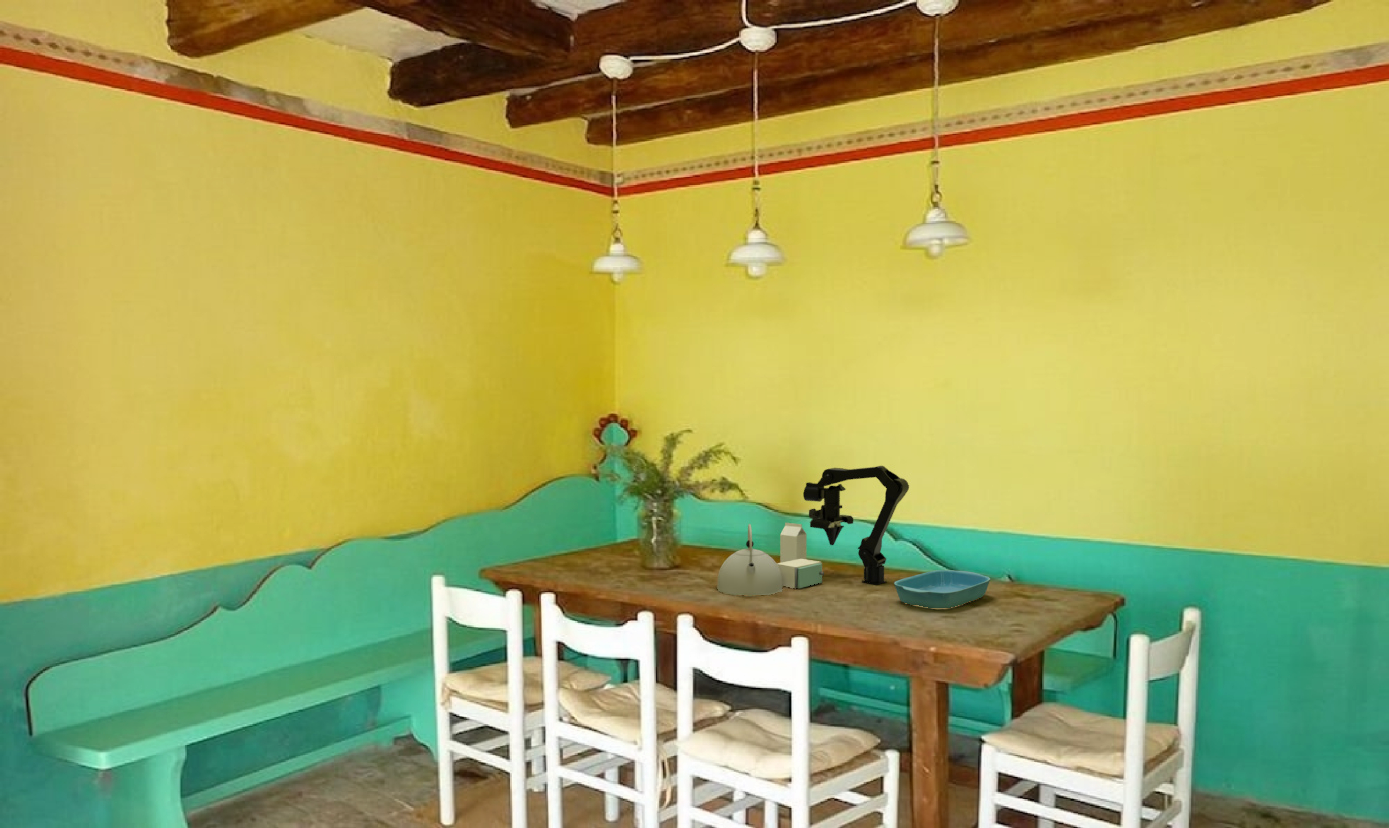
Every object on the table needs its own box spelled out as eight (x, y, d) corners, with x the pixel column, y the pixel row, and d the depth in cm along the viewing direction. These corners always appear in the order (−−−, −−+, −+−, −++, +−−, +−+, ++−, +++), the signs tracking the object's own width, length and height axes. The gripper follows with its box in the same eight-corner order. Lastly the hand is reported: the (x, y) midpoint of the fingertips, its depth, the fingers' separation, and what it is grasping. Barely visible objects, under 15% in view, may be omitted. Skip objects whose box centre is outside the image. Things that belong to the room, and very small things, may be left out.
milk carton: (796, 577, 366) (796, 525, 365) (780, 574, 370) (780, 523, 369) (806, 573, 371) (806, 523, 370) (790, 571, 375) (790, 521, 375)
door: (803, 588, 344) (803, 569, 343) (797, 587, 345) (797, 568, 345) (824, 582, 352) (824, 564, 352) (819, 582, 354) (819, 563, 354)
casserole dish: (943, 616, 307) (943, 593, 306) (882, 605, 322) (882, 583, 322) (1001, 597, 333) (1001, 575, 333) (941, 587, 349) (941, 567, 348)
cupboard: (821, 583, 355) (821, 561, 354) (795, 589, 345) (795, 567, 344) (801, 579, 361) (801, 558, 361) (775, 585, 351) (775, 563, 351)
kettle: (785, 598, 332) (785, 531, 331) (717, 598, 332) (717, 531, 331) (780, 582, 357) (780, 519, 356) (717, 582, 357) (716, 519, 356)
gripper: (830, 498, 375) (830, 539, 376) (798, 502, 362) (798, 545, 363) (854, 500, 367) (854, 543, 368) (822, 505, 354) (822, 549, 355)
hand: (831, 545), depth 363 cm, fingers closed
